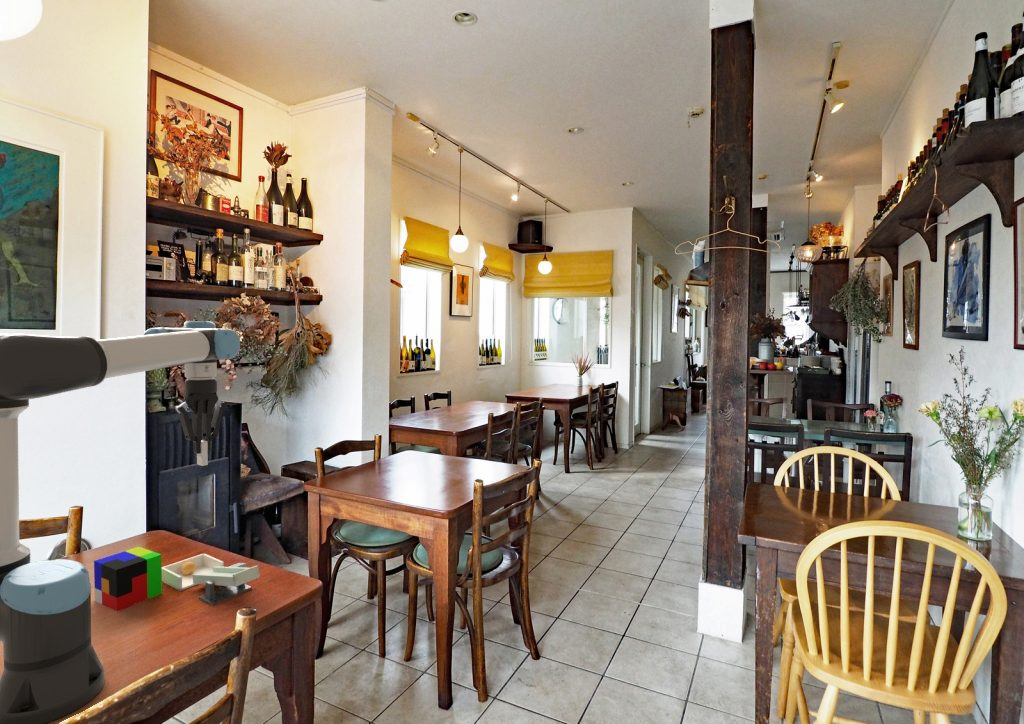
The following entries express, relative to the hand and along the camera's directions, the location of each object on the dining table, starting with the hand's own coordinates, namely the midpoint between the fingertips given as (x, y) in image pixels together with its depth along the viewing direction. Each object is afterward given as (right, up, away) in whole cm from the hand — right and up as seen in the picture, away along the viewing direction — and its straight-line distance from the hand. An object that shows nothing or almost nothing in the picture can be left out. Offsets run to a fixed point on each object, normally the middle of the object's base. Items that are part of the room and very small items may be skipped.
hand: (202, 464), depth 144 cm
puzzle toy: (-10, -30, -14) cm, 35 cm away
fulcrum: (+13, -30, -12) cm, 35 cm away
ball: (-2, -27, -2) cm, 28 cm away
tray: (-1, -30, -3) cm, 30 cm away
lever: (+14, -27, -9) cm, 32 cm away
